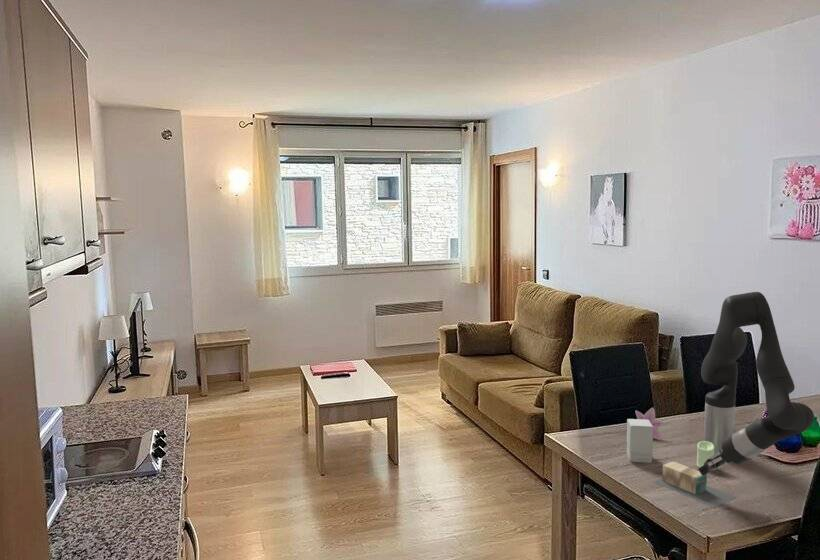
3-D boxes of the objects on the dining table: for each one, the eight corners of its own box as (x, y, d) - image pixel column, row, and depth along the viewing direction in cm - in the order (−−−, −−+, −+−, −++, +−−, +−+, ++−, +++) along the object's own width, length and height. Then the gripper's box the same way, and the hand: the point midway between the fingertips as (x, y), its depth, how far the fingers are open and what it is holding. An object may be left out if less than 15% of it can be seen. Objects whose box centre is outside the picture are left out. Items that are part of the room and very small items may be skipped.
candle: (713, 472, 193) (714, 447, 192) (696, 469, 196) (696, 445, 195) (714, 466, 198) (714, 442, 197) (697, 463, 200) (698, 439, 199)
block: (706, 474, 179) (672, 461, 189) (696, 478, 177) (662, 465, 186) (706, 490, 180) (672, 476, 190) (696, 494, 177) (662, 480, 187)
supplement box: (652, 463, 201) (653, 426, 200) (629, 461, 203) (630, 425, 201) (648, 454, 208) (649, 419, 207) (626, 453, 210) (626, 418, 208)
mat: (736, 499, 175) (736, 497, 175) (714, 509, 169) (714, 507, 169) (674, 474, 192) (674, 472, 192) (652, 483, 186) (652, 481, 186)
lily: (623, 438, 226) (630, 421, 220) (629, 418, 234) (636, 401, 229) (655, 452, 222) (664, 435, 216) (661, 431, 230) (669, 413, 225)
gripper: (748, 428, 172) (706, 455, 183) (721, 438, 165) (679, 465, 177) (766, 451, 168) (722, 478, 180) (740, 463, 161) (696, 489, 173)
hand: (701, 471), depth 178 cm, fingers closed
